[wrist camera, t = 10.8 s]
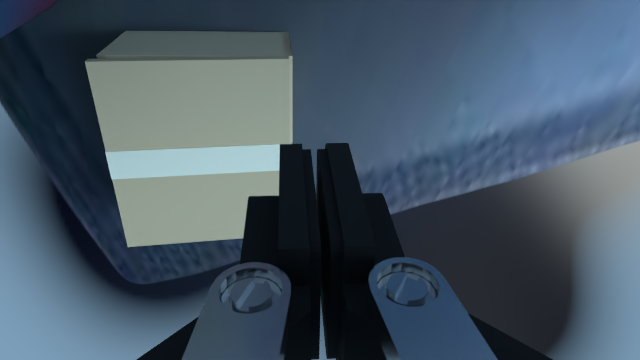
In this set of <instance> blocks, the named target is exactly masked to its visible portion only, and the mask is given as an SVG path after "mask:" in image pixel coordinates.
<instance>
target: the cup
mask: <svg viewBox="0 0 640 360" xmlns="http://www.w3.org/2000/svg"><path fill="white" fill-rule="evenodd" d="M55 2H56V0H0V38H2V37H3V36H5V35H7V34H8V33H10V32H11V31H13V30H15V29H16V28H18V27H19V26H21V25H22V24H24V23H26V22H27V21H29V20H30V19H32V18H34V17H35V16H37V15H38V14H40V13H41V12H43V11H45V10H46V9H48V8H49V7H51V6H52V5H53V4H54V3H55Z"/></svg>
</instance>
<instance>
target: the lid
mask: <svg viewBox="0 0 640 360" xmlns="http://www.w3.org/2000/svg"><path fill="white" fill-rule="evenodd" d="M85 65H86V69H87V73H88V78H89V82H90V86H91V90H92V95H93V99H94V103H95V108H96V112H97V116H98V121H99V125H100V129H101V133H102V138H103V142H104V146H105V154H106V158H107V162H108V166H109V171H110V175H111V179H112V181H113V185H114V189H115V194H116V198H117V202H118V207H119V211H120V215H121V219H122V224H123V228H124V232H125V237H126V241H127V245H128V247H133V246H146V245H160V244H173V243H186V242H199V241H212V240H225V239H238V238H243V236H244V227H245V219H246V211H247V203H248V197H249V196H279V161H280V144H290V59H289V56H272V57H195V58H118V59H87V60H86V61H85Z"/></svg>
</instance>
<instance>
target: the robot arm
mask: <svg viewBox="0 0 640 360" xmlns="http://www.w3.org/2000/svg"><path fill="white" fill-rule="evenodd" d="M320 296H321V304H322V314H323V326H324V336H325V347H326V356H327V359H332V358H336V360H552V359H551V358H549V357H547V356H545V355H543V354H541V353H539V352H538V351H536V350H534V349H532V348H530V347H528V346H527V345H525V344H523V343H521V342H520V341H518V340H516V339H514V338H512V337H510V336H508V335H507V334H505V333H503V332H501V331H500V330H498V329H496V328H494V327H492V326H490V325H488V324H487V323H485V322H483V321H481V320H479V319H477V318H476V317H474V316H472V315H470V314H469V313H467V312H466V310H465V309H464V307H463V306H462V304H461V303H460V301H459V299H458V298H457V296H456V295H455V293H454V292H453V290H452V289H451V287H450V285H449V284H448V282H447V281H446V279H445V278H444V277H443V276H442V274H441V273H440V272H439V271H438V270H437V269H435V268H434V267H432V266H431V265H429V264H428V263H425V262H423V261H420V260H417V259H412V258H407V257H405V256H404V253H403V250H402V248H401V245H400V242H399V239H398V236H397V233H396V231H395V228H394V224H393V221H392V219H391V216H390V213H389V210H388V207H387V204H386V201H385V198H384V196H383V194H382V193H364V194H362V192H361V188H360V184H359V181H358V177H357V174H356V170H355V166H354V163H353V159H352V155H351V152H350V148H349V144H348V143H326V145H325V149H317V191H316V193H315V184H314V175H313V166H312V157H311V149H307V150H302V144H280V161H279V196H249V197H248V203H247V211H246V219H245V227H244V236H243V244H242V252H241V260H240V264H239V265H235V266H233V267H231V268H229V269H227V270H225V271H224V272H223V273H222V274H220V275H219V276H218V277H217V278H216V280H215V281H214V283H213V284H212V286H211V288H210V291H209V293H208V295H207V298H206V300H205V303H204V305H203V308H202V310H201V313H200V315H199V317H197V318H196V319H194V320H193V321H192V322H190V323H189V324H187V325H186V326H184V327H183V328H181V329H180V330H179V331H177V332H176V333H174V334H173V335H171V336H170V337H169V338H167V339H166V340H164V341H163V342H161V343H160V344H158V345H157V346H156V347H154V348H153V349H151V350H150V351H148V352H147V353H145V354H144V355H143V356H141V357H140V358H138V359H137V360H311V359H319V339H320Z"/></svg>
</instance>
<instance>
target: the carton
mask: <svg viewBox="0 0 640 360" xmlns="http://www.w3.org/2000/svg"><path fill="white" fill-rule="evenodd" d="M272 56H289V59H290V144H292V51H291V46H290V41H289V36H288V32H224V31H125V32H124V33H122V34H121V35H120V36H119V37H118V38H116V39H115V40H114V41H113V42H112V43H110V44H109V45H108V46H107V47H105V48H104V49H103V50H102V51H101V52H99V53H98V54H97V55H96V57H97V59H118V58H195V57H272Z"/></svg>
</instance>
